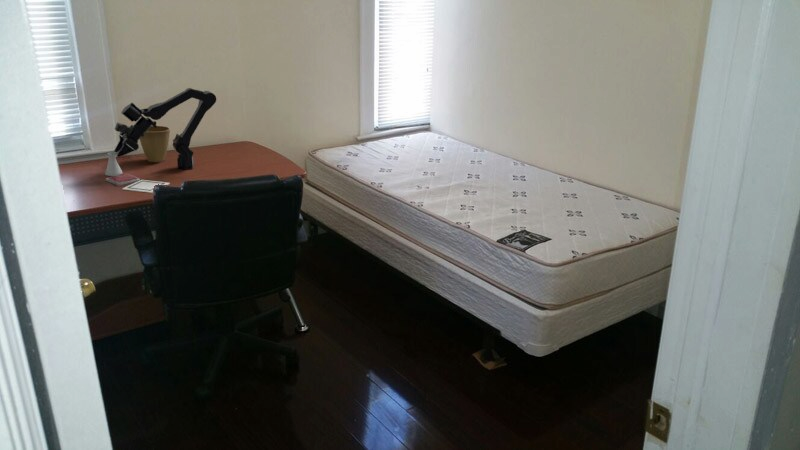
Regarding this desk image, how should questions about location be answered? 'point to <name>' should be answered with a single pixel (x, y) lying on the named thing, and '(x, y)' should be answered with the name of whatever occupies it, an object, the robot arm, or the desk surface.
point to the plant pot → (155, 143)
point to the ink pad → (122, 179)
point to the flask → (113, 166)
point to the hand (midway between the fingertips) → (116, 154)
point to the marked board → (144, 186)
